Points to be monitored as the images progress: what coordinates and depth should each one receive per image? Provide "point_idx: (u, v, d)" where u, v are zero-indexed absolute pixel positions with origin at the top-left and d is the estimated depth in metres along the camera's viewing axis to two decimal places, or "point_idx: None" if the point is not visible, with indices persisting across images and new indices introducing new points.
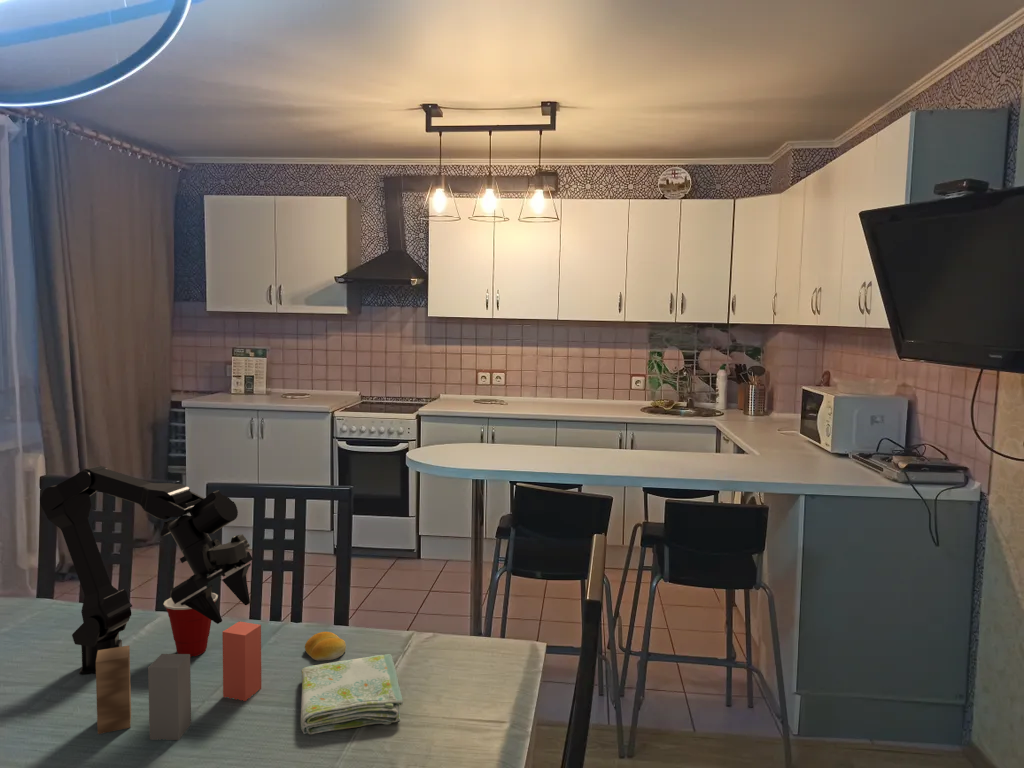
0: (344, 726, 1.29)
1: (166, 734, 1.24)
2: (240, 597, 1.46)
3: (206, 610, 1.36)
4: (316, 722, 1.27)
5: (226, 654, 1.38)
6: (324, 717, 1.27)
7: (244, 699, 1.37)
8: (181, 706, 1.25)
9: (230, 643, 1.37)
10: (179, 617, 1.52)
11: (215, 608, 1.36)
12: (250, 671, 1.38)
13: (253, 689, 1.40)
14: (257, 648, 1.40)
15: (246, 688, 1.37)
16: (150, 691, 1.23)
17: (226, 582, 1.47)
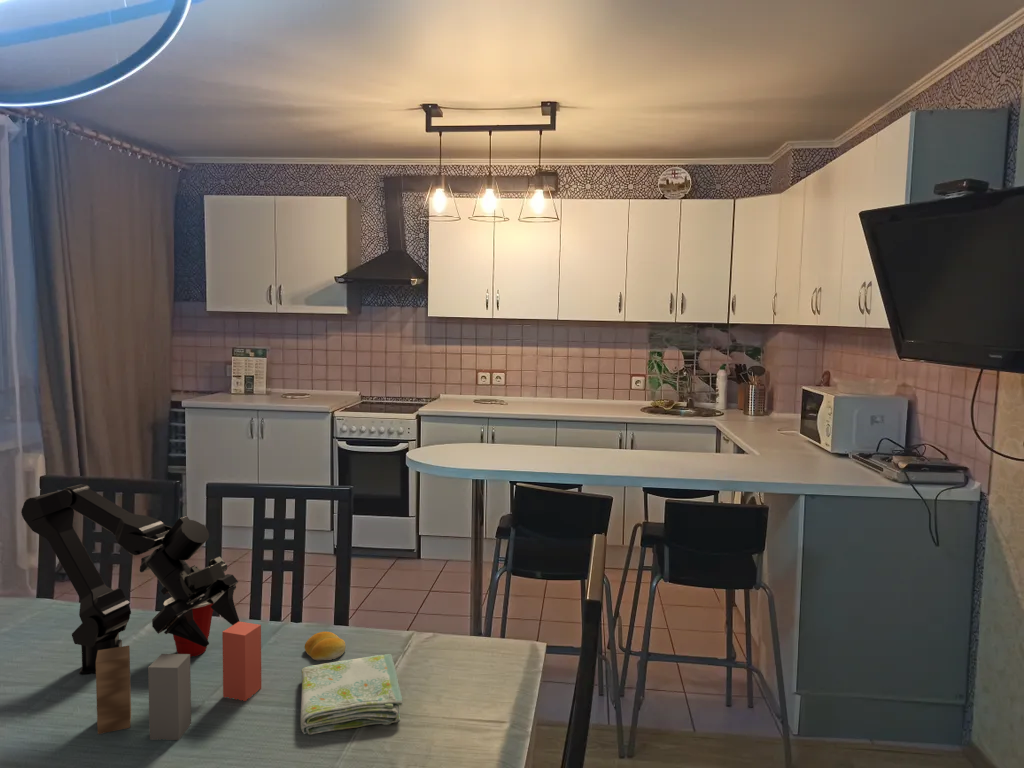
0: (344, 726, 1.29)
1: (166, 734, 1.24)
2: (230, 620, 1.45)
3: (191, 635, 1.36)
4: (316, 722, 1.27)
5: (226, 654, 1.38)
6: (324, 717, 1.27)
7: (244, 699, 1.37)
8: (181, 706, 1.25)
9: (230, 643, 1.37)
10: None
11: (199, 631, 1.36)
12: (250, 671, 1.38)
13: (253, 689, 1.40)
14: (257, 648, 1.40)
15: (246, 688, 1.37)
16: (150, 691, 1.23)
17: (214, 608, 1.47)
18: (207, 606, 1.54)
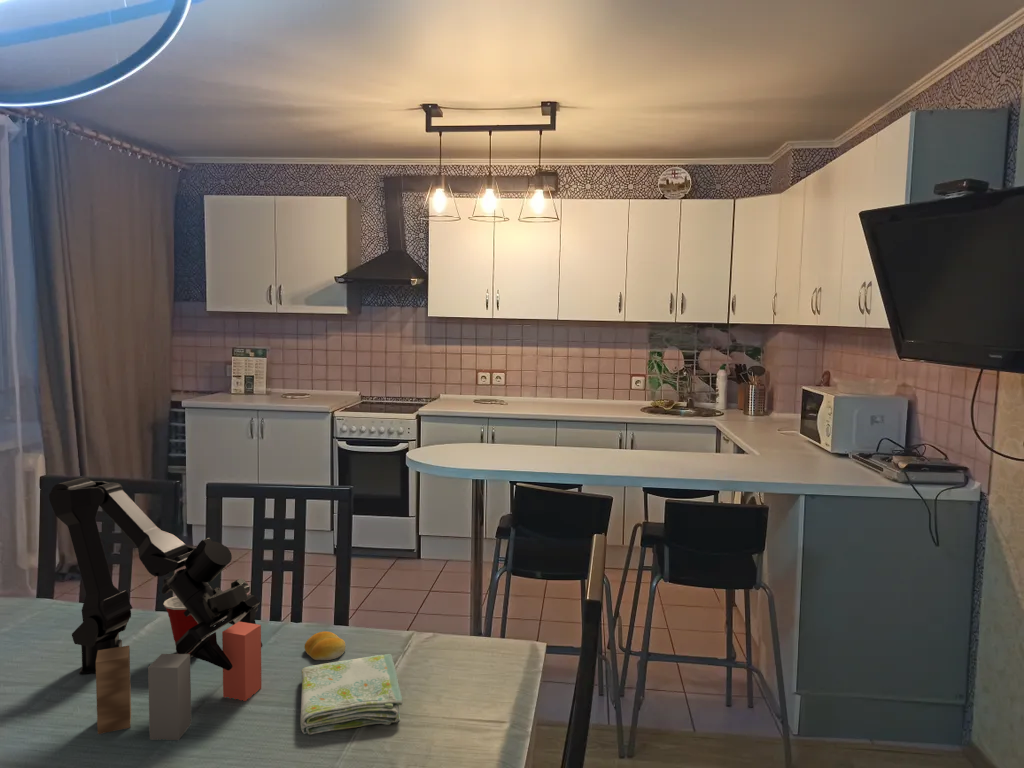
0: (344, 726, 1.29)
1: (166, 734, 1.24)
2: None
3: (214, 658, 1.35)
4: (316, 722, 1.27)
5: (226, 654, 1.38)
6: (324, 717, 1.27)
7: (244, 699, 1.37)
8: (181, 706, 1.25)
9: (230, 643, 1.37)
10: (179, 617, 1.52)
11: (223, 655, 1.35)
12: (250, 671, 1.38)
13: (253, 689, 1.40)
14: (257, 648, 1.40)
15: (246, 688, 1.37)
16: (150, 691, 1.23)
17: None
18: None
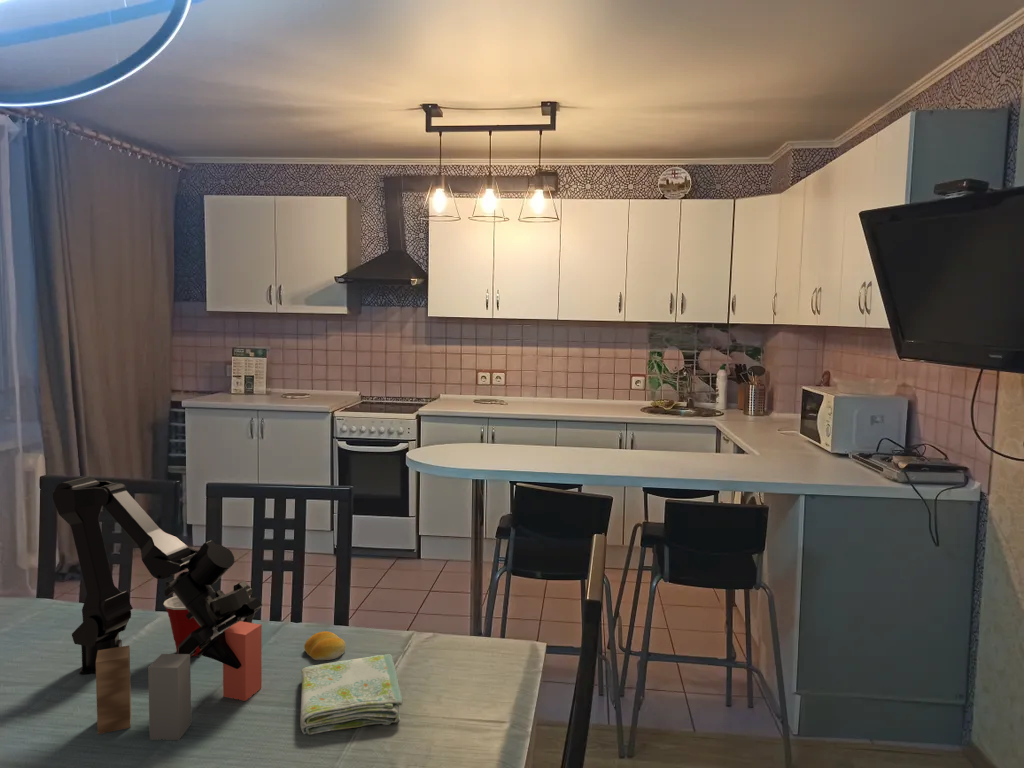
0: (344, 726, 1.29)
1: (166, 734, 1.24)
2: None
3: (223, 657, 1.36)
4: (316, 722, 1.27)
5: None
6: (324, 717, 1.27)
7: (244, 699, 1.37)
8: (181, 706, 1.25)
9: (230, 642, 1.37)
10: (179, 617, 1.52)
11: (232, 653, 1.36)
12: (250, 670, 1.38)
13: (253, 689, 1.40)
14: (257, 648, 1.40)
15: (246, 688, 1.37)
16: (150, 691, 1.23)
17: None
18: None
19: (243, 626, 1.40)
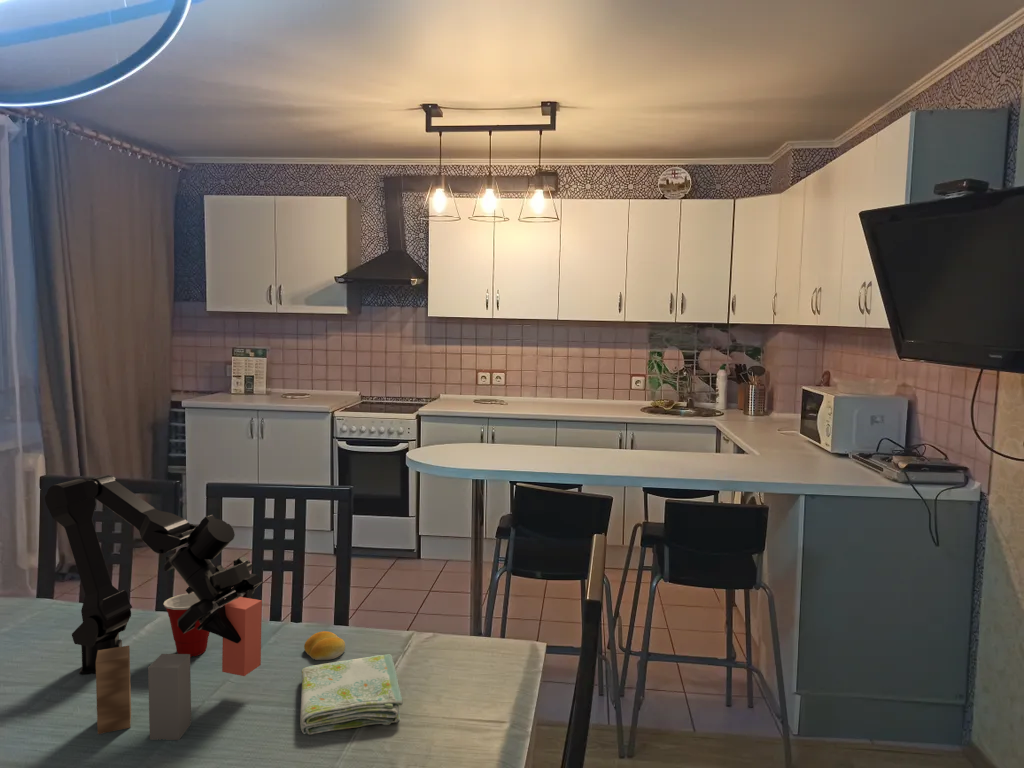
0: (343, 726, 1.29)
1: (166, 734, 1.24)
2: None
3: (223, 631, 1.36)
4: (315, 722, 1.27)
5: None
6: (323, 717, 1.27)
7: (243, 674, 1.37)
8: (181, 706, 1.25)
9: (230, 617, 1.37)
10: (179, 617, 1.52)
11: (232, 628, 1.36)
12: (249, 646, 1.38)
13: (252, 665, 1.39)
14: (257, 624, 1.40)
15: (245, 663, 1.37)
16: (150, 691, 1.23)
17: None
18: None
19: (243, 601, 1.39)
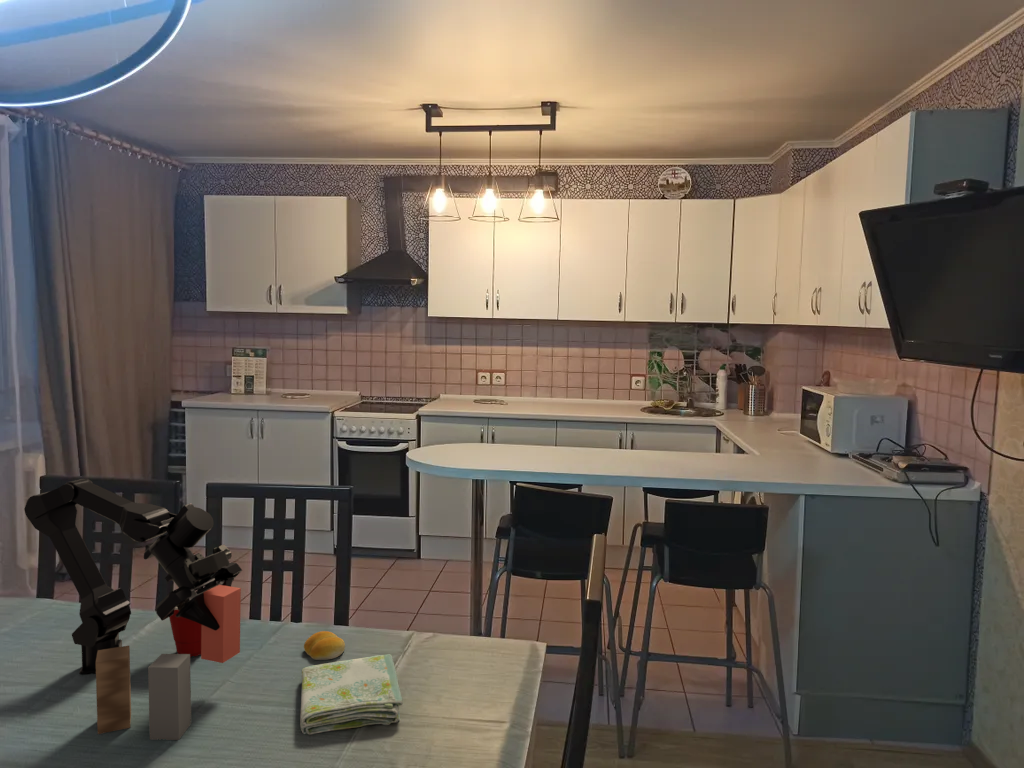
0: (343, 726, 1.29)
1: (166, 734, 1.24)
2: None
3: (202, 619, 1.37)
4: (315, 722, 1.27)
5: None
6: (323, 717, 1.27)
7: (221, 661, 1.38)
8: (181, 706, 1.25)
9: (209, 604, 1.38)
10: (179, 617, 1.52)
11: (210, 615, 1.37)
12: (228, 633, 1.39)
13: (231, 652, 1.40)
14: (236, 611, 1.41)
15: (223, 650, 1.38)
16: (150, 691, 1.23)
17: None
18: None
19: (222, 589, 1.41)
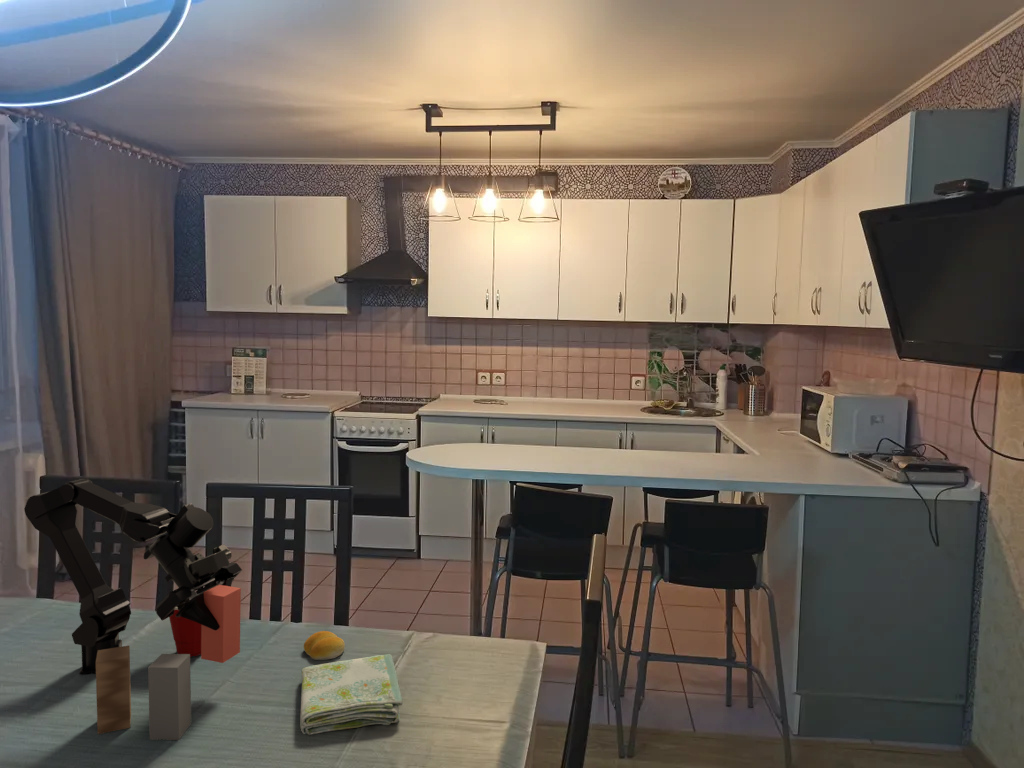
0: (343, 726, 1.29)
1: (166, 734, 1.24)
2: None
3: (202, 618, 1.37)
4: (315, 722, 1.27)
5: None
6: (323, 717, 1.27)
7: (221, 661, 1.38)
8: (181, 706, 1.25)
9: (209, 604, 1.38)
10: (179, 617, 1.52)
11: (210, 615, 1.37)
12: (228, 633, 1.39)
13: (231, 652, 1.40)
14: (236, 611, 1.41)
15: (223, 650, 1.38)
16: (150, 691, 1.23)
17: None
18: None
19: (222, 589, 1.41)
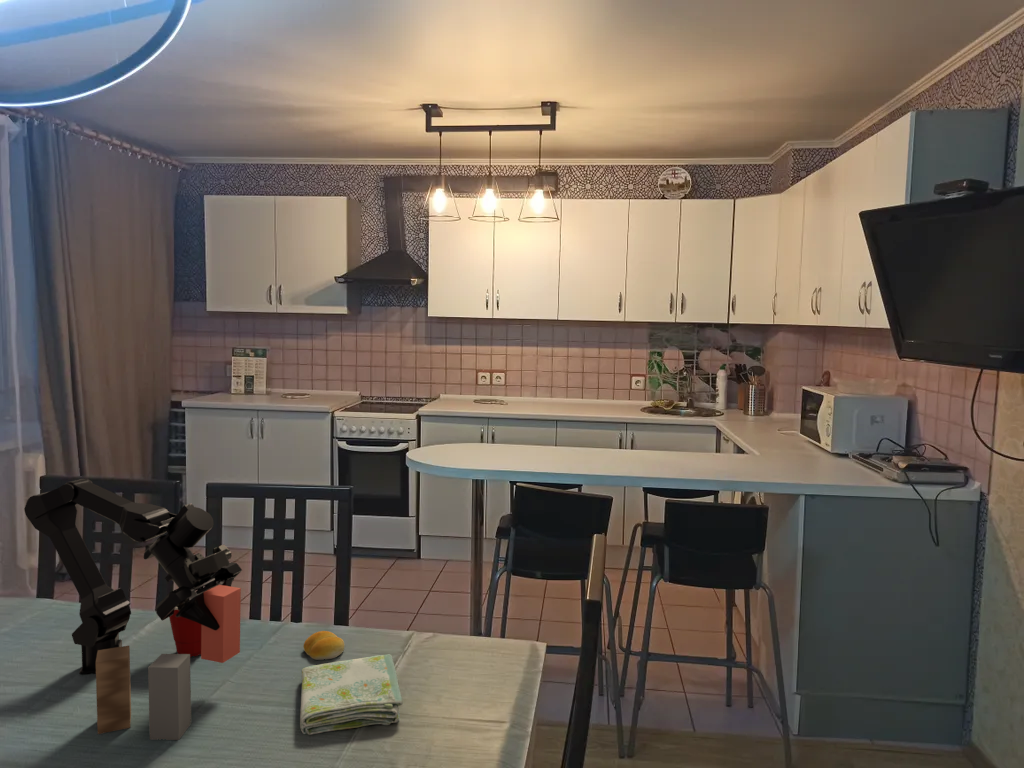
0: (343, 726, 1.29)
1: (166, 734, 1.24)
2: None
3: (202, 618, 1.37)
4: (315, 722, 1.27)
5: None
6: (323, 717, 1.27)
7: (221, 661, 1.38)
8: (181, 706, 1.25)
9: (209, 604, 1.38)
10: (179, 617, 1.52)
11: (210, 615, 1.37)
12: (228, 633, 1.39)
13: (231, 652, 1.40)
14: (236, 611, 1.41)
15: (223, 650, 1.38)
16: (150, 691, 1.23)
17: None
18: None
19: (222, 589, 1.41)
